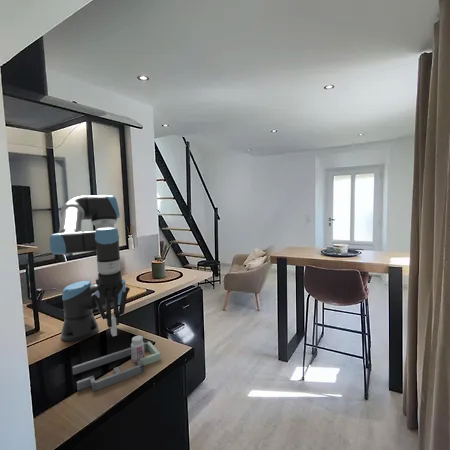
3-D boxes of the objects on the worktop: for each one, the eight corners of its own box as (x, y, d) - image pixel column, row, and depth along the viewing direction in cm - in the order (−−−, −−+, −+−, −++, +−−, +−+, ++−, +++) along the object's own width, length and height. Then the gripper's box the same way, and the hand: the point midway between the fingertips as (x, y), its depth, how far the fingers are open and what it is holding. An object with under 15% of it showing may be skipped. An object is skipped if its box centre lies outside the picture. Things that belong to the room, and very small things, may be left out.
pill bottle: (138, 363, 104) (137, 342, 104) (128, 360, 107) (127, 339, 106) (147, 357, 109) (146, 336, 108) (138, 354, 111) (137, 333, 110)
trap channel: (72, 373, 100) (72, 366, 100) (149, 347, 116) (149, 341, 116) (79, 396, 88) (78, 389, 88) (164, 363, 104) (164, 357, 104)
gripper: (91, 277, 93) (97, 344, 96) (131, 270, 100) (135, 333, 103) (87, 272, 99) (92, 335, 102) (125, 266, 106) (128, 325, 109)
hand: (114, 334), depth 103 cm, fingers closed
